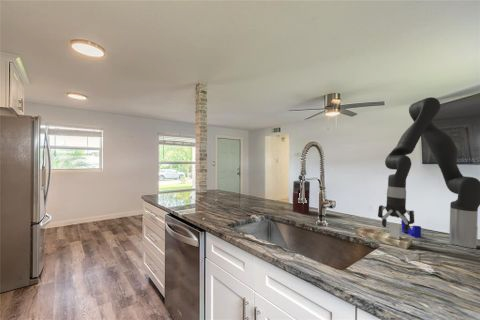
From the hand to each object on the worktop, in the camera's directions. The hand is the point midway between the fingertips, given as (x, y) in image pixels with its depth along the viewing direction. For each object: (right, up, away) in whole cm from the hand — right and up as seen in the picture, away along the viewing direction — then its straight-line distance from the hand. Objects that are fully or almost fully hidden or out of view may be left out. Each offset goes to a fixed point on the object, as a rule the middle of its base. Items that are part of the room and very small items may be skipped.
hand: (394, 229), depth 103 cm
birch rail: (-3, -7, +4) cm, 8 cm away
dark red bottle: (-30, -6, +57) cm, 65 cm away
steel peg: (0, -7, 0) cm, 7 cm away
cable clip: (+18, -7, +14) cm, 24 cm away
